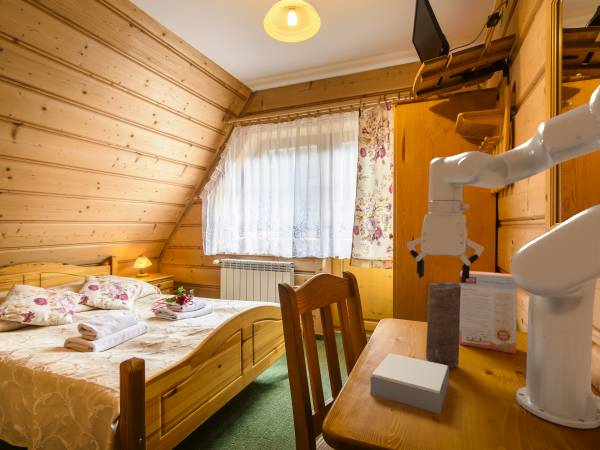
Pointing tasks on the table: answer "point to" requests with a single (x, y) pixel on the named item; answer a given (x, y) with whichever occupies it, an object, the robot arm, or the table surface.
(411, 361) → the podium
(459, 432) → the table surface
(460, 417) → the table surface
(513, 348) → the cracker box
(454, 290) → the candle
